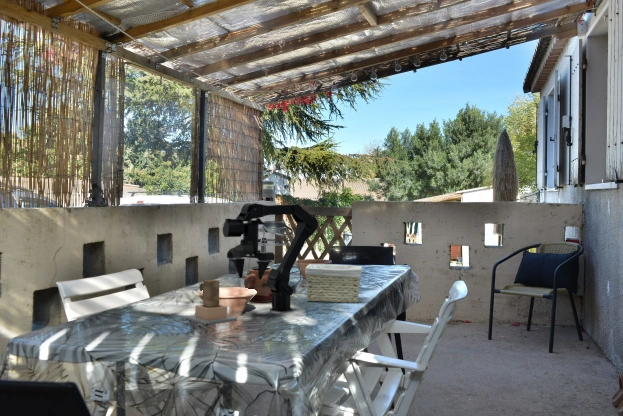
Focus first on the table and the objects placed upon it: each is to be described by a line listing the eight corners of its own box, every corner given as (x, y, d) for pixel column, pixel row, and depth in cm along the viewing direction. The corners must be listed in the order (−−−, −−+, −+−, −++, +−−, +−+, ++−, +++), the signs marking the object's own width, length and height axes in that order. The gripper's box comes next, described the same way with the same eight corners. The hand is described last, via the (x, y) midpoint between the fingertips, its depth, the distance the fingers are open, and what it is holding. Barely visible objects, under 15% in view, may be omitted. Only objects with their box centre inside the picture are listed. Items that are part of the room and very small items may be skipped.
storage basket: (361, 298, 266) (362, 264, 266) (361, 304, 250) (361, 268, 250) (307, 296, 268) (308, 263, 268) (303, 302, 252) (304, 267, 252)
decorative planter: (259, 306, 241) (259, 271, 241) (233, 303, 247) (234, 269, 246) (284, 299, 258) (284, 267, 258) (260, 297, 264) (260, 265, 264)
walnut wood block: (212, 315, 215) (213, 279, 215) (218, 317, 212) (219, 280, 212) (203, 317, 213) (203, 280, 213) (209, 318, 210) (209, 281, 210)
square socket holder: (217, 314, 222) (217, 301, 222) (236, 320, 212) (237, 306, 212) (185, 318, 213) (185, 305, 213) (204, 324, 203) (204, 310, 203)
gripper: (217, 236, 224) (216, 278, 224) (257, 238, 214) (256, 282, 214) (236, 235, 233) (236, 275, 234) (275, 237, 223) (275, 279, 224)
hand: (250, 278), depth 226 cm, fingers open, 9 cm apart
